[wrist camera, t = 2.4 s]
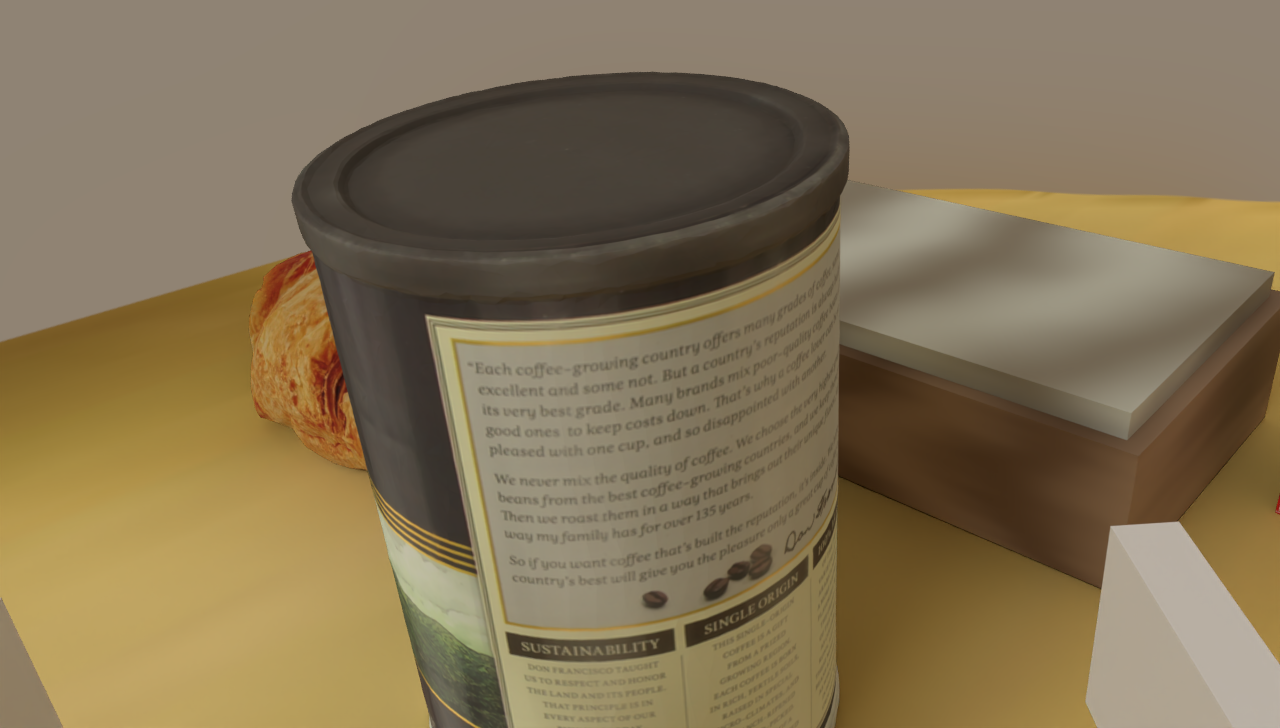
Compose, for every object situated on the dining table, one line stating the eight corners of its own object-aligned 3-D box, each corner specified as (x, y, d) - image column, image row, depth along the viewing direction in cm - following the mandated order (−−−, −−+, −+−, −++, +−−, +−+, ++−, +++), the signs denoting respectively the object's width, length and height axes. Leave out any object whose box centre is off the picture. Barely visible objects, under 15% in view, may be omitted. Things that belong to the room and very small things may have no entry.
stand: (633, 387, 40) (620, 258, 38) (813, 282, 47) (812, 167, 44) (1115, 594, 29) (1143, 428, 26) (1264, 417, 35) (1298, 270, 33)
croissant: (263, 402, 49) (127, 285, 44) (420, 247, 51) (308, 118, 46) (491, 647, 33) (322, 511, 28) (704, 410, 35) (583, 242, 30)
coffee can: (340, 782, 25) (161, 217, 18) (557, 525, 33) (487, 63, 26) (756, 944, 21) (723, 287, 14) (890, 604, 29) (911, 78, 22)
